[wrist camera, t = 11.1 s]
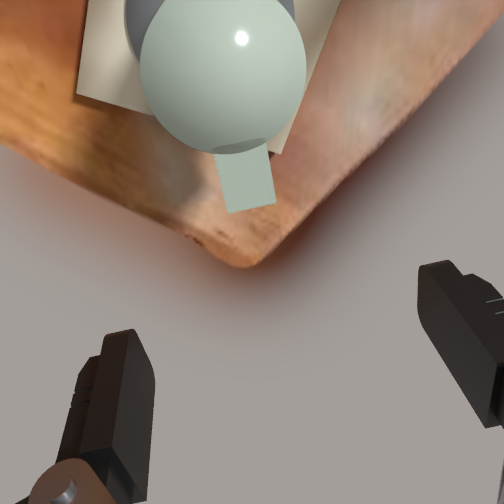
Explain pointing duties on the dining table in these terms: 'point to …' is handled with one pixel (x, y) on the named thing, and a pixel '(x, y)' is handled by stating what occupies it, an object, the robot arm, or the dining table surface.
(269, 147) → the jug stand
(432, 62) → the dining table surface
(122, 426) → the robot arm
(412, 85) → the dining table surface
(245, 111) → the sage jug
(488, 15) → the dining table surface
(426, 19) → the dining table surface
